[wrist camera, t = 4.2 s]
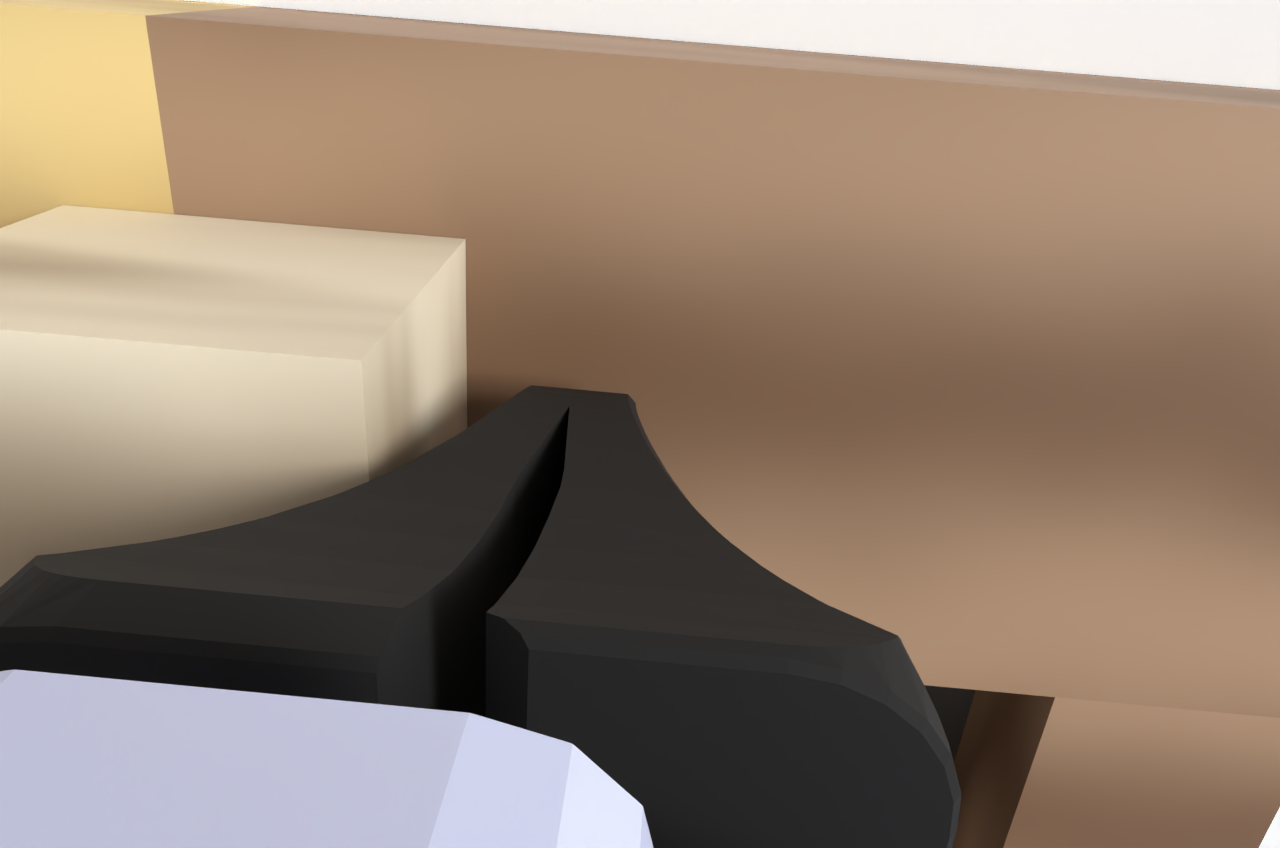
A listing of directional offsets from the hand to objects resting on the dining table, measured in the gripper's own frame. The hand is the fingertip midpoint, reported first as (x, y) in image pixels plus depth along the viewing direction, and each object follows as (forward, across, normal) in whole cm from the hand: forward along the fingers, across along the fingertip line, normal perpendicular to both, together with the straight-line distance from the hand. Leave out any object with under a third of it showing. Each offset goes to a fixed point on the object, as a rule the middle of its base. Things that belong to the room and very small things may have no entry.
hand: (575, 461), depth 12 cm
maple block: (+1, +4, 0) cm, 4 cm away
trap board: (+4, +1, +3) cm, 5 cm away
